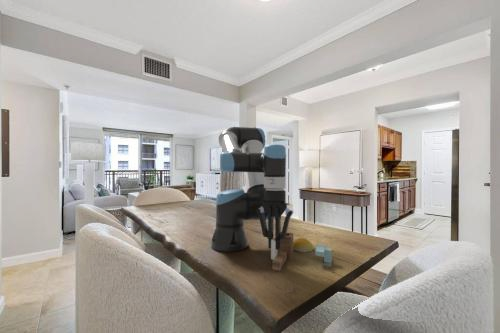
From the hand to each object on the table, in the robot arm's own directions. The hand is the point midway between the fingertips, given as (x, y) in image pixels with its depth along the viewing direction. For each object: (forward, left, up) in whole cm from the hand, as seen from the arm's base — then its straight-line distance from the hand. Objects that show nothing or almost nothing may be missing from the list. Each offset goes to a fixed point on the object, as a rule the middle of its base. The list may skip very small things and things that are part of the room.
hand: (274, 258), depth 77 cm
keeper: (+16, +8, -2) cm, 18 cm away
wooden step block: (+2, +3, -2) cm, 4 cm away
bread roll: (+7, +19, -2) cm, 20 cm away
